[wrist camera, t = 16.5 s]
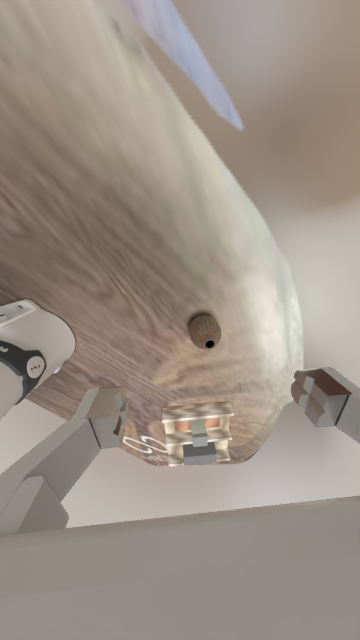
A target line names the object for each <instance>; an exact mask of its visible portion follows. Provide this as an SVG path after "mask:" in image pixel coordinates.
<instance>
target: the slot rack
mask: <svg viewBox="0 0 360 640" xmlns="http://www.w3.org/2000/svg"><path fill="white" fill-rule="evenodd" d="M230 416H234V412H233V409H232V407H231V404H230V402H219V403H208V404H198V405H187V406H177V407H166V408H163V410H162V423H164V425H165V432H166V446H168V453H169V466H179V465H184V457H183V445H185V444H193V441H192V433H191V423H190V420H196V419H204V421H205V426H206V431H207V436H208V442H214V444H215V448H216V453H217V461H226V460H230V457H229V453H228V450H227V444H228V440H232V437H231V434H230V430H229V418H230Z"/></svg>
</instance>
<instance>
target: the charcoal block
mask: <svg viewBox="0 0 360 640" xmlns="http://www.w3.org/2000/svg"><path fill="white" fill-rule="evenodd" d="M183 457H184V465H192V464H202V463H211V462H217V453H216V448H215V444H214V442H208V446H200V447H193V444H185V445H183Z"/></svg>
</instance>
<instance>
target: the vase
mask: <svg viewBox="0 0 360 640" xmlns="http://www.w3.org/2000/svg"><path fill="white" fill-rule="evenodd" d="M189 336H190V339H191V341H192V342H193V343H194V344H195V345H196V346H197V347H199V348H201V349H208V350H211V349H213V348H214V347H215V346H216V345H217V344H218V343H219V341H220V339H221V328H220V326H219V324H218V322H217V321H216V320H215V319H213V318H212V317H210V316H199V317H197V318H195V319H194V320H193V321H192V323H191V324H190V327H189Z"/></svg>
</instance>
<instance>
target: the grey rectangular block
mask: <svg viewBox="0 0 360 640" xmlns="http://www.w3.org/2000/svg"><path fill="white" fill-rule="evenodd" d="M190 423H191V433H192V441H193V447H200V446H208V436H207V431H206V426H205V421H204V419H196V420H190Z"/></svg>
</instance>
